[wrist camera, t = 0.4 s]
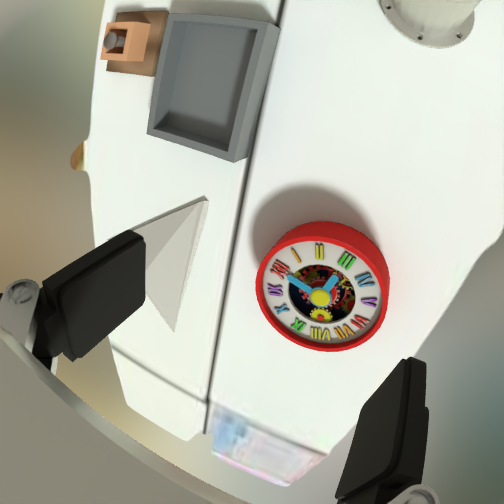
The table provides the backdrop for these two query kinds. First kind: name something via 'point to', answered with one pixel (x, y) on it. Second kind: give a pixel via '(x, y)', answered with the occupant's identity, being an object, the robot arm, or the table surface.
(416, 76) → the table surface
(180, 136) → the tray
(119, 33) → the ring
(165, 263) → the paper plane
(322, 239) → the toy clock
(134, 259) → the robot arm
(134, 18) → the stake base
